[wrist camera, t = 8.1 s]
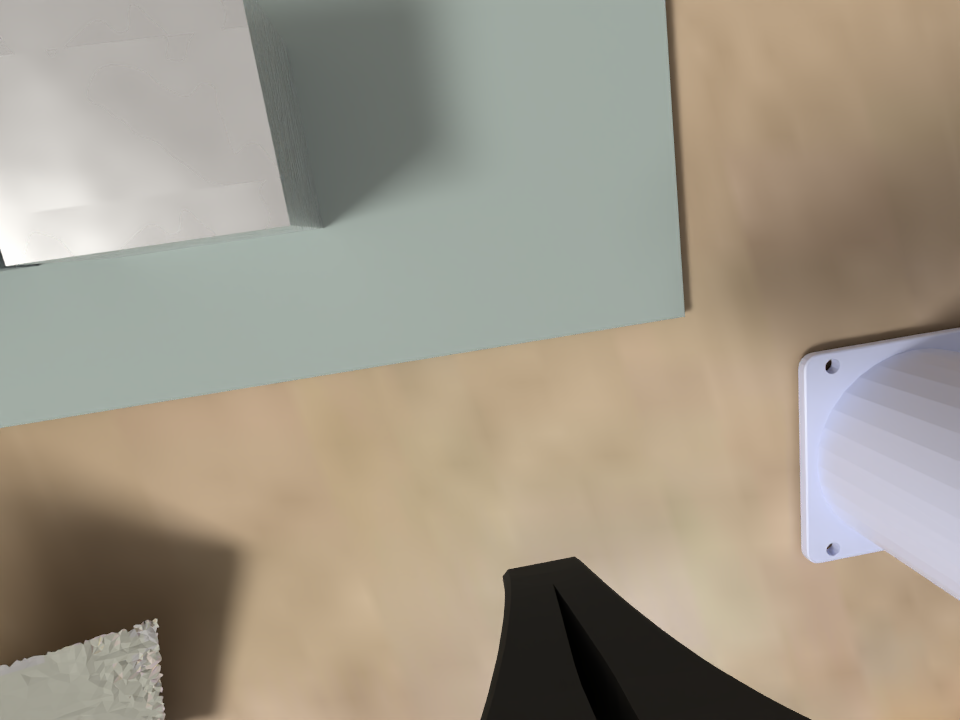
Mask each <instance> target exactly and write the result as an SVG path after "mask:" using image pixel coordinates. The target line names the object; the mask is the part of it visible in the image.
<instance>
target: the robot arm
mask: <svg viewBox="0 0 960 720" xmlns="http://www.w3.org/2000/svg"><path fill="white" fill-rule="evenodd" d="M829 360H831V361H832V364H831V367H830V368H829V369H828V370H826V369H825V366H826V363H827V362H828V361H829ZM798 381H799V438H800V495H801V549H802V554H803V555H804V556H805V557H806V558H807V559H808V560H810V561H811V562H813V563H822V562H827V561H832V560H837V559H842V558H848V557H853V556H858V555H863V554H868V553H873V552H878V551H883V550H885V551H886V552H888V553H889V554H891V555H892V556H894V557H895V558H897V559H898V560H900V561H901V562H903V563H904V564H906V565H907V566H909V567H910V568H912V569H913V570H915V571H916V572H918V573H919V574H921V575H922V576H924V577H925V578H927V579H928V580H930V581H931V582H933V583H934V584H936V585H937V586H939V587H940V588H942V589H943V590H945V591H946V592H947V593H949V594H950V595H952V596H953V597H955V598H956V599H958V600H959V601H960V327H959V328H953V329H947V330H941V331H935V332H929V333H924V334H918V335H912V336H906V337H900V338H894V339H888V340H882V341H877V342H871V343H865V344H859V345H853V346H847V347H841V348H835V349H830V350H824V351H818V352H812V353H809V354H807V355H805V356H804V357H803V358H802V359H801V361H800V363H799V368H798ZM831 543H832V546H831V547H830V548H829V549H827V547H828V546H829V545H830V544H831ZM503 582H504V588H505V607H504V619H503V626H502V632H501V638H500V644H499V651H498V656H497V660H496V664H495V668H494V672H493V676H492V681H491V685H490V689H489V693H488V697H487V700H486V703H485V707H484V710H483V713H482V717H481V720H811V719H809V718H807V717H805V716H803V715H801V714H799V713H797V712H795V711H793V710H791V709H789V708H787V707H785V706H783V705H781V704H779V703H777V702H775V701H774V700H772V699H770V698H768V697H766V696H764V695H762V694H761V693H759V692H757V691H755V690H754V689H752V688H750V687H749V686H747V685H745V684H743V683H742V682H740V681H738V680H737V679H735V678H733V677H732V676H730V675H728V674H726V673H725V672H723V671H721V670H720V669H718V668H716V667H715V666H713V665H712V664H710V663H709V662H707V661H706V660H704V659H702V658H701V657H699V656H698V655H697V654H695V653H694V652H692V651H691V650H689V649H688V648H687V647H685V646H684V645H682V644H681V643H679V642H678V641H677V640H675V639H674V638H673V637H671V636H670V635H668V634H667V633H666V632H664V631H663V630H662V629H660V628H659V627H658V626H657V625H655V624H654V623H653V622H651V621H650V620H649V619H648V618H646V617H645V616H644V615H643V614H641V613H640V612H639V611H638V610H636V609H635V608H634V607H633V606H631V605H630V604H629V603H628V602H626V601H625V600H624V599H623V598H622V597H621V596H619V595H618V594H617V593H616V592H615V591H614V590H612V589H611V588H610V587H609V586H608V585H607V584H606V583H604V582H603V581H602V580H601V579H600V578H599V577H598V576H597V575H596V574H594V573H593V572H592V571H591V570H590V569H589V568H588V567H587V566H586V565H585V564H584V563H582V562H581V561H580V560H579V559H577V558H576V557H571V558H566V559H560V560H555V561H550V562H545V563H540V564H534V565H529V566H524V567H519V568H513V569H508V570H507V572H506V573H505V574H504V575H503Z"/></svg>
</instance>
